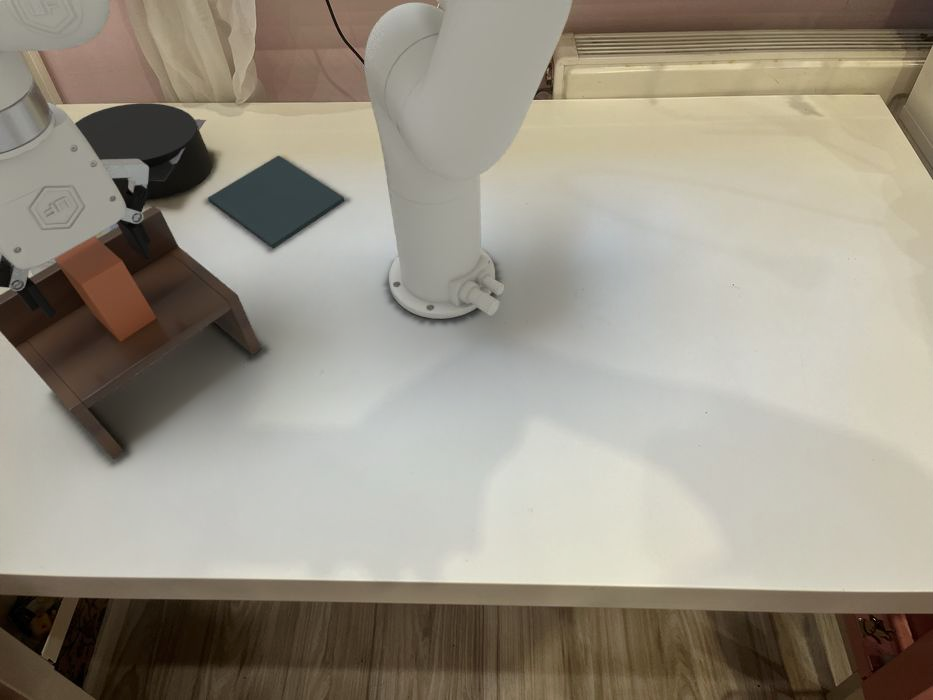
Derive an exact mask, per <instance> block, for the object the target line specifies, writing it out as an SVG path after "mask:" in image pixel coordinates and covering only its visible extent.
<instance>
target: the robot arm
mask: <svg viewBox="0 0 933 700" xmlns="http://www.w3.org/2000/svg"><path fill="white" fill-rule="evenodd" d="M435 1H436V2H437V3H438V5H439V6H440V7H441V8H442V9H441V8H439V7H437V6H435V5H432V4H428V3H426V2H425V3H424V2H407V3H406V2H405V3H402V4H400V5H396V6H395V7H392V8H391V9H389V10H388V11H386V12H385V13H384V14H383V15H382V16H381V17H380V18H379V20H377V22H376V23H375V24H374V26H373V28H372V30H371V31H370V34H369V35H368V38H367V41H366V45H365V49H364V50H365V51H364V61H363V62H364V63H363V64H364V76H365V83H366V88H367V92H368V96H369V101H370V104H371V108H372V112H373V116H374V120H375V123H376V128H377V132H378V137H379V142H380V146H381V151H382V157H383V163H384V170H385V176H386V184H387V190H388V198H389V204H390V210H391V218H392V223H393V229H394V237H395V243H396V249H397V256H396V257H395V258H394V260H393V262H392V263H391V266H390V268H389V272H388V284H389V289H390V291H391V294H392V297H393V298H394V299H395V301H396V302H397V304H399V305H400V306H401V307H402V308H403V309H405V310H406V311H408V312H409V313H412V314H414V315H416V316H419V317H423V318H428V319H440V320H443V319H452V318H457V317H461V316H464V315H466V314H468V313H470V312H472V311H474V310H476V309H478V310H480V311H482V312H483V313H485V314H486V315H488V316H493V315H494V314H495V313H496V312H497V311H498V309H499V307H500V301H499V300H498V299H496V298H495V297H493V296H492V295H491V294H494V295H496V296H500V295H502V293H504V290H505V285H504V284H503V283H502V282H500V281H498V280H497V279H496V268H495V265H494V261H493V260H492V258H491V256H490V255H489V254H488V253H487V252H486V251H485V250H484V249H483V248H482V210H481V208H482V205H481V175H482V174H484V173H486V172H487V171H489V170H490V169H491V168H492V167H494V166H495V165H496V164H497V163H498V162H499V161H500V160H501V159H502V158H503V157H504V155H505V154H506V153H507V151H508V150H509V149H510V147H511V146H512V144H513V142H514V141H515V140H516V137H517V135H518V134H519V132H520V129H521V128H522V125H523V123H524V121H525V119H526V117H527V114H528V112H529V109H530V107H531V106H532V103H533V101H534V99H535V96H536V94H537V91H538V89H539V87H540V85H541V82H542V80H543V78H544V76H545V74H546V71H547V69H548V66H549V64H550V62H551V60H552V58H553V56H554V53H555V50H556V48H557V46H558V44H559V41H560V39H561V36H562V35H563V32H564V29H565V27H566V24H567V21H568V18H569V15H570V13H571V10H572V4H573V1H574V0H435ZM110 11H111V0H0V288H5V289H6V288H7V289H9V290H10V289H11V290H13V291H16V292H17V294H18V295H19V296H20V298H21V299H22V300H23V301H24V303H25V304H26V305H27V306H28V307H29V308H30V309H31V311H32V312H33V311H35V310H36V309H38V308H40V309H41V310H42V311H43V312H44V313H45V314H46V315H47V316H48V317H49V318H52V317H53V316H55V313H56V311H55V310H54V309H53V307H52V306H51V305H50V303H49V302H48V301H47V299H46V298H45V297H44V295H43V294H42V292H41V291H40V290H39V288H38V287H37V286H36V285H35V283H34V282H33V281H32V280H31V279H30V277H29V272H30V270H29V269H31V268H35V267H38V266H40V265H42V264H44V263H46V262H48V261H50V260H52V259H54V258H56V257H58V256H59V255H61V254H63V253H65V252H67V251H68V250H70V249H72V248H74V247H76V246H77V245H79V244H81V243H83V242H85V241H86V240H88V239H90V238H92V237H93V236H95V235H97V234H99V233H101V232H102V231H104V230H106V229H107V228H109V227H111V226H112V225H114V224H115V223H117V224H118V226H119V228H120V230H121V231H122V233H123V235H124V237H125V239H126V241H127V242H128V244H129V246H130V247H131V248H132V249H133V250H134V251H136V252H137V253H138V254H139V255H140V256H141V257H142V258H144V259H145V260H146V259H147V260H149V259H150V258H152V257H153V256H152V254H151V252H150V250H149V248H148V246H147V244H149V243H151V240H150V238H149V236H148V234H147V232H146V230H145V228H144V227H143V225H142V223H141V222H142V220H143V218H144V217H143V214H142V213H143V210H144V207H145V205H146V202H147V201H148V200H147V197H148V194H149V192H148V190H147V185H148V176H149V167H148V165H146V164H145V163H144V162H142V161H141V160H140V159H105V160H100V159H99V158H98V156H97V155H96V153H95V151H94V150H93V148H92V147H91V145H90V144H89V143H88V141H87V140H86V138H85V137H84V135H83V134H82V133H81V131H80V130H79V129H78V127H77V126H76V125H75V123H76V122H74V121H73V119H72V118H71V117H70V116H69V114H68V113H67V112H66V111H65V110H63V109H62V108H60V107H58V106H57V105H56V104H53V103H50V102H48V101H47V100H46V98H45V96H44V95H43V93H42V91H41V89H40V86H38V83H37V82H36V79H35V78H34V76H33V75H32V73H31V71H30V69H29V68H28V66H27V64H26V63H25V60H24V58H23V56H22V55H21V53H20V52H45V51H59V50H60V51H62V50H68V49H74V48H78V47H79V46H82V45H84V44H87V43H89V42H91V41H92V40H94V39H95V38H96V37H97V36H99V34H100V33H101V32H102V31H103V29H104V28H105V26H106V24H107V22H108V20H109V17H110V13H111V12H110ZM112 178H128V180H129V182H128V183H127V185H126V188H125V190H124V193H123V195H121V194H120V192H119V190H118V188H117V187H116V185H115V183H114V182H113V180H112Z"/></svg>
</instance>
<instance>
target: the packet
mask: <svg viewBox="0 0 933 700" xmlns="http://www.w3.org/2000/svg"><path fill="white" fill-rule="evenodd" d="M55 261H56V262H57V264H58V265H59V267H60V268H61V269H62V271H63V272H64V274H65V275H66V276H67V278H68V279H69V281H70V282H71V284H72V285H73V286H74V288H75V289H76V291H77V292H78V293H79V295H80V296H81V298H82V299H83V300H84V302H85V303H86V305H87V306H88V307H89V309H90V310H91V312H92V313H93V315H94V316H95V317H96V318H97V319H98V320H99V321H100V322H101V323H102V324H103V325H104V326H105V327H106V328H107V329H108V330H109V331H110V332H111V333H112V334H113V335H114V336H115V337H116V338H117V339H118V340H119V341H120V342H122V341H123V340H125V339H126V338H128V337H129V336H131V335H132V334H134V333H135V332H137V331H138V330H140V329H141V328H143V327H144V326H146V325H147V324H149V323H150V322H152V321H153V320H155V319H156V316H155V314H154V313H153V311H152V309H151V308H150V306H149V304H148V303H147V301H146V299H145V298H144V296H143V294H142V293H141V291H140V289H139V288H138V286H137V284H136V283H135V281H134V279H133V278H132V276H131V275H130V273H129V271H128V270H127V268H126V266H125V265H124V263H123V261H122V260H121V259H120V258H119V257H117V256H116V255H115V254H114V253H113V252H112V251H111V250H110V249H108V248H107V247H106V246H105V245H104V244H103V243H102V242H101V241H100V240H98V239H97V238H96V237H95V236H93V237H92V238H90V239H88V240H86V241H85V242H83V243H81V244H79V245H78V246H76V247H74V248H72V249H71V250H69V251H67V252H65V253H64V254H62V255H60V256H59V257H57V258H55Z"/></svg>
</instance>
